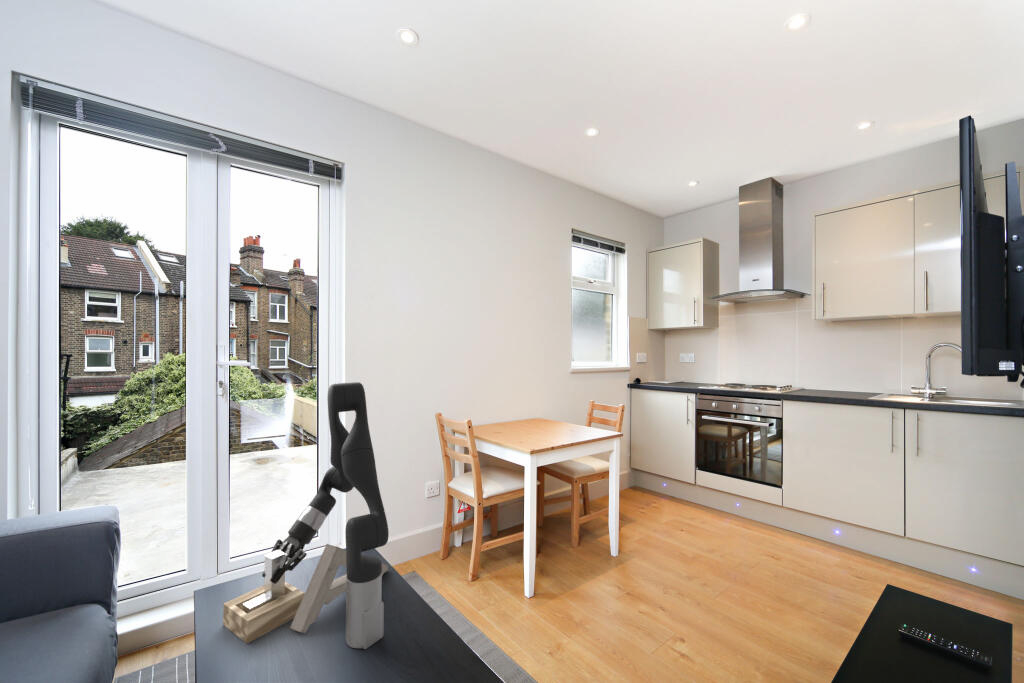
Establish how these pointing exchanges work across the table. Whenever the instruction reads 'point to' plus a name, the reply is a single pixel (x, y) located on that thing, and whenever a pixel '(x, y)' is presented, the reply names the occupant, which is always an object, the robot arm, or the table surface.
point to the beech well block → (260, 613)
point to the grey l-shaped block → (269, 583)
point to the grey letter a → (322, 587)
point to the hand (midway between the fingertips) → (268, 579)
